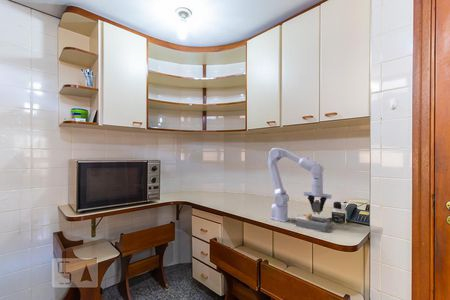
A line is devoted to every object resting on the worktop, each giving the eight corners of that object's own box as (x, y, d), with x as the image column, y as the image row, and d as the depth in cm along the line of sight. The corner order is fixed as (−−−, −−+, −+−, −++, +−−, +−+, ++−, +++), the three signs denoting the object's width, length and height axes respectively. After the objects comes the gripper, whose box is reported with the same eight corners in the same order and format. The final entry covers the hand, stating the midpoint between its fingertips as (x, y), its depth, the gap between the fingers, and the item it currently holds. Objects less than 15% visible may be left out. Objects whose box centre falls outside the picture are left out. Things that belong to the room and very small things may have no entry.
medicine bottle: (331, 223, 129) (331, 202, 129) (333, 220, 135) (333, 200, 135) (345, 225, 125) (345, 204, 126) (346, 222, 131) (346, 202, 131)
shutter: (294, 218, 127) (294, 214, 127) (299, 216, 132) (299, 211, 132) (308, 221, 122) (308, 216, 122) (311, 218, 128) (312, 213, 128)
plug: (312, 213, 124) (312, 200, 124) (314, 212, 127) (314, 199, 127) (320, 215, 121) (320, 201, 121) (321, 213, 125) (321, 200, 125)
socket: (296, 226, 124) (296, 218, 124) (303, 220, 133) (303, 214, 133) (325, 232, 115) (325, 224, 115) (330, 226, 124) (330, 219, 124)
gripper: (332, 186, 123) (332, 210, 123) (306, 183, 132) (306, 206, 132) (330, 187, 117) (329, 213, 117) (302, 185, 126) (302, 208, 126)
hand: (317, 209), depth 124 cm, fingers closed on plug, 4 cm apart
